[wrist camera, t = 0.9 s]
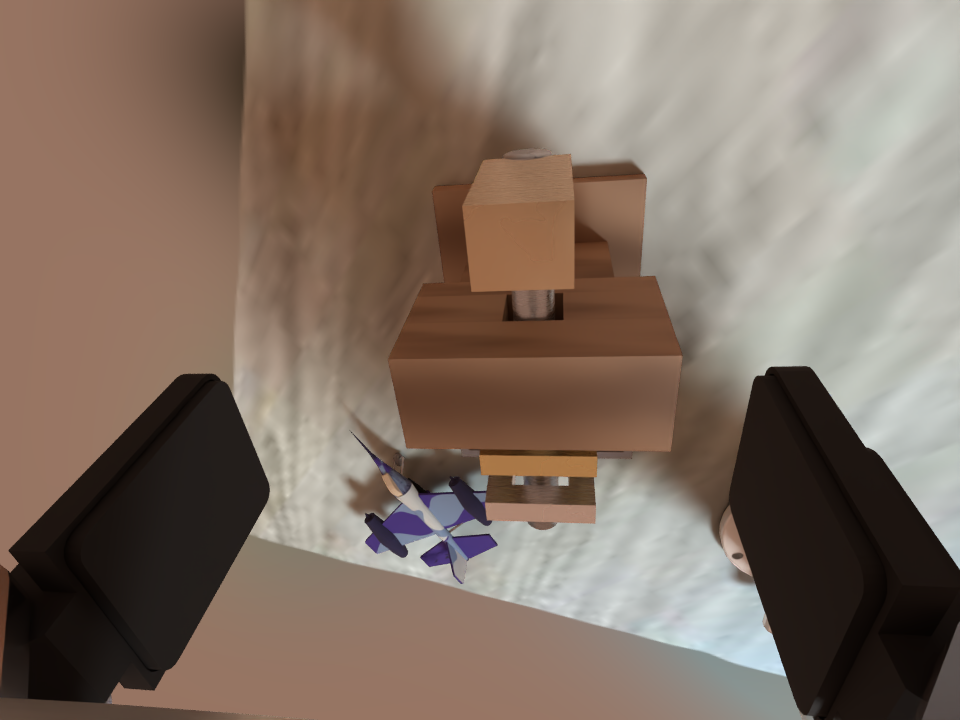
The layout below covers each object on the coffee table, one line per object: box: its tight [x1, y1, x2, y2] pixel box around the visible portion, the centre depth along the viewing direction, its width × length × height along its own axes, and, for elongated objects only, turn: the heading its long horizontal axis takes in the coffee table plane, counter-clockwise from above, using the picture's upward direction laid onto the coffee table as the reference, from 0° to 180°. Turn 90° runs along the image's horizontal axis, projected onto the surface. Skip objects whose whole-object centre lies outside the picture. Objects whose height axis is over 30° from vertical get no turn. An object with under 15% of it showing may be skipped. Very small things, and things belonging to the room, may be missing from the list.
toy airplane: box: [351, 432, 497, 584], centre depth 46 cm, size 13×14×4 cm
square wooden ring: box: [485, 475, 596, 523], centre depth 33 cm, size 1×6×6 cm, turn 95°
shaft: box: [462, 148, 574, 530], centre depth 26 cm, size 22×4×8 cm, turn 5°
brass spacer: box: [479, 449, 597, 477], centre depth 31 cm, size 1×6×6 cm, turn 95°
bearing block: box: [388, 174, 683, 451], centre depth 29 cm, size 8×12×14 cm
